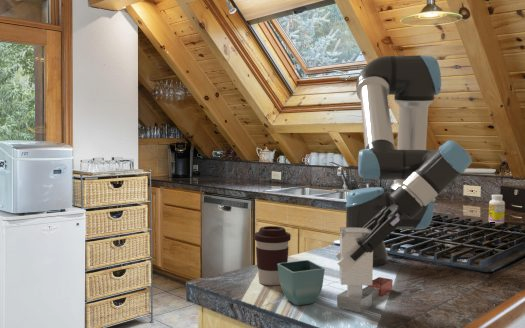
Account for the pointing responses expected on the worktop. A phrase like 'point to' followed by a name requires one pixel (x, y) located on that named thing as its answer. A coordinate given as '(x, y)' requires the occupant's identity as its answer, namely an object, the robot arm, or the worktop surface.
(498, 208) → the supplement bottle
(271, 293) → the worktop surface
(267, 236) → the coffee cup
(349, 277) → the tall white upright block
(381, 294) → the tiny brick pile
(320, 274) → the flower pot
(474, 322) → the worktop surface
